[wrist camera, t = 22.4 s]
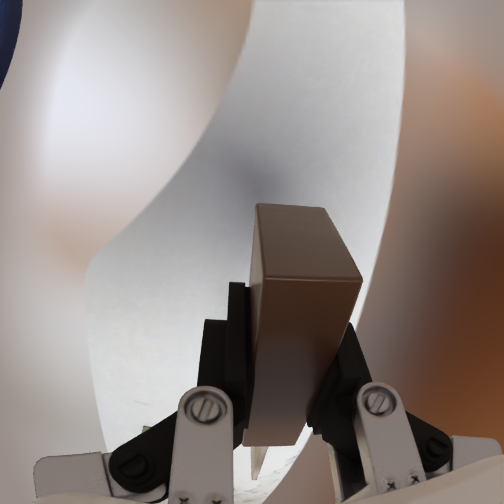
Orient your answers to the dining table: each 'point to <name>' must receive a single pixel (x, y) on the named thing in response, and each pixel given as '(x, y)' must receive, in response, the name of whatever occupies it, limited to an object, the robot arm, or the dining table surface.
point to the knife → (294, 318)
